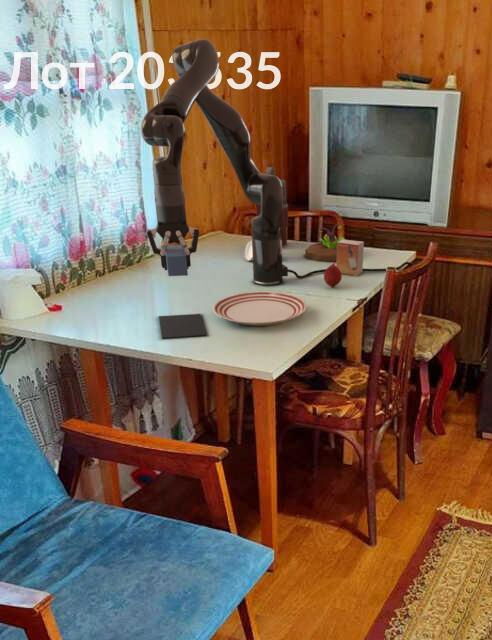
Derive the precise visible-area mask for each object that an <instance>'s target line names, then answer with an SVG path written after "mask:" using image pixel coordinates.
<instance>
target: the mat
mask: <svg viewBox="0 0 492 640" xmlns="http://www.w3.org/2000/svg"><path fill="white" fill-rule="evenodd" d="M158 320H159V327H160V334H161V335H160V336H161V339H162V340H166V339H167V340H168V339H181V338H199V337H207V332H206V329H205V325H204V322H203V319H202V315H201V313H193V314H175V315H173V314H172V315H159V316H158Z"/></svg>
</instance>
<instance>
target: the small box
mask: <svg viewBox="0 0 492 640" xmlns="http://www.w3.org/2000/svg"><path fill="white" fill-rule="evenodd" d="M364 246H365V241H362V240H361V241H360V240H352V239H350V240H349V239H346V238H344V239H342V240H341V241H339V242H337V262H335V266H336V267H338V268H339V270H340V271H341V274H344V275H349V276H354V277H358V276H359V275H360V274H362V273H363V271H362V269H364V249H365V247H364Z"/></svg>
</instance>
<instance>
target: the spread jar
mask: <svg viewBox="0 0 492 640" xmlns="http://www.w3.org/2000/svg"><path fill="white" fill-rule="evenodd" d="M280 246H281V254H282V255H283V247H282V239H281V236H280ZM244 248H245V249H244V257H245V260H246V261H248V262H249V261H250V262H253V252H252V240H250V241H248V242H247V243H246V245H245V247H244Z"/></svg>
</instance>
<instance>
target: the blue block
mask: <svg viewBox="0 0 492 640" xmlns="http://www.w3.org/2000/svg"><path fill="white" fill-rule="evenodd" d="M165 254H166V262H167V270H166V272H167V275H168V277H184V276H189V275H188V273H189V272H188V269H187V259H186V254H185V251H184V249H183V247H182V245H181V244H177V245H176V244H175V245H174V244H173V245H167V248H166V252H165Z"/></svg>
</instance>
